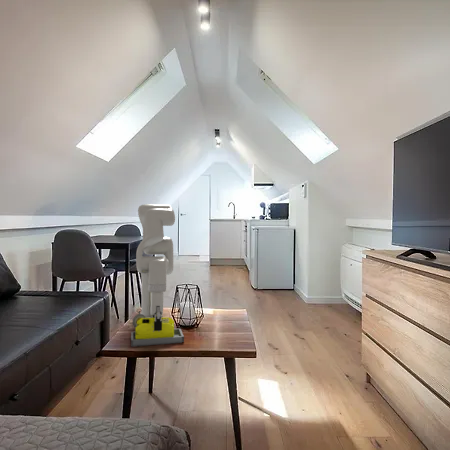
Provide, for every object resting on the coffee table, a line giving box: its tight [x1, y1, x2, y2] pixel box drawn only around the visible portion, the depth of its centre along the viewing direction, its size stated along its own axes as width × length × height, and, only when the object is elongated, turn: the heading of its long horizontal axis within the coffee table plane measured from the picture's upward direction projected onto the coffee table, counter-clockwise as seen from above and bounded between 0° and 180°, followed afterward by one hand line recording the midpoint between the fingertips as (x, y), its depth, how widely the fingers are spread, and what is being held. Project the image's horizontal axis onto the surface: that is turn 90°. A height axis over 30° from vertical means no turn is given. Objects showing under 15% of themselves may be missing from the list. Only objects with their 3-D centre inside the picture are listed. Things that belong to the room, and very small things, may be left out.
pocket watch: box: [132, 308, 145, 329], centre depth 164 cm, size 8×8×10 cm
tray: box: [130, 328, 185, 347], centre depth 153 cm, size 12×22×2 cm, turn 105°
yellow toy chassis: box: [135, 316, 175, 339], centre depth 153 cm, size 16×6×8 cm, turn 97°
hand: (157, 326), depth 153 cm, fingers open, 9 cm apart
